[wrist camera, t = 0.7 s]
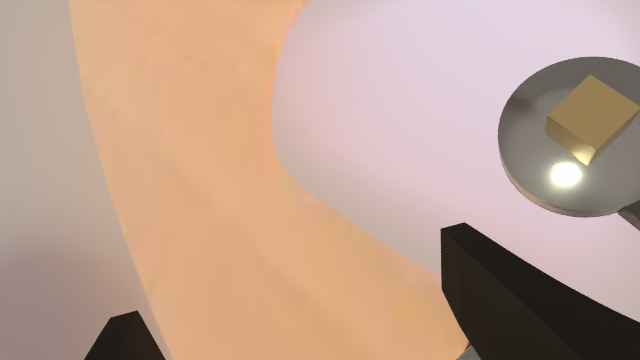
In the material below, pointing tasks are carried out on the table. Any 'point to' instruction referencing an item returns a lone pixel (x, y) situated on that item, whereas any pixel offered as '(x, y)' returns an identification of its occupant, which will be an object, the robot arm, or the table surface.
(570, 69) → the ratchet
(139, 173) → the table surface
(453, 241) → the robot arm
